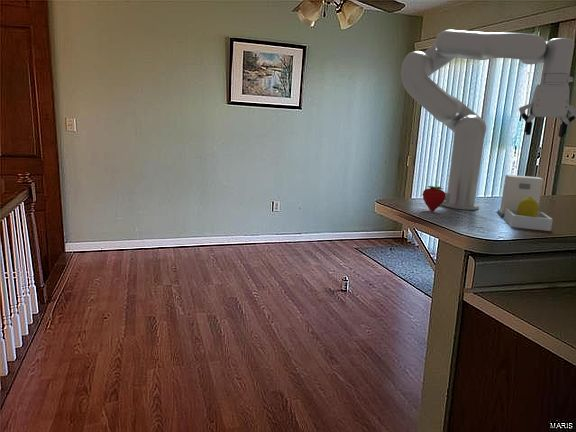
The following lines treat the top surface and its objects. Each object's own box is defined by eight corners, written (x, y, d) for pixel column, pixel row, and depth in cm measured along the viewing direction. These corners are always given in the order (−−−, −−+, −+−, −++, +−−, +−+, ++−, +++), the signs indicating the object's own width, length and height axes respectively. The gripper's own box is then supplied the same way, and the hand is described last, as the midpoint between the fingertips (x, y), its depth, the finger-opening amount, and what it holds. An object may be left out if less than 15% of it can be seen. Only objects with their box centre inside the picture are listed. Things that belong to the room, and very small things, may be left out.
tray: (510, 226, 135) (512, 215, 134) (503, 219, 145) (505, 208, 144) (550, 231, 133) (552, 219, 132) (540, 223, 143) (542, 212, 142)
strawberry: (425, 208, 156) (429, 178, 154) (446, 212, 152) (450, 182, 149) (417, 210, 152) (420, 180, 150) (438, 214, 147) (442, 183, 145)
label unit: (501, 217, 148) (507, 176, 145) (497, 213, 155) (503, 174, 152) (538, 221, 146) (546, 179, 143) (532, 216, 152) (539, 177, 150)
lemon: (529, 221, 142) (533, 195, 140) (539, 225, 136) (544, 199, 135) (511, 220, 142) (516, 194, 140) (521, 224, 136) (526, 198, 134)
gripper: (580, 82, 146) (570, 137, 150) (521, 80, 150) (512, 133, 154) (589, 80, 139) (578, 138, 143) (526, 78, 143) (517, 134, 147)
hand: (544, 135), depth 148 cm, fingers open, 9 cm apart
